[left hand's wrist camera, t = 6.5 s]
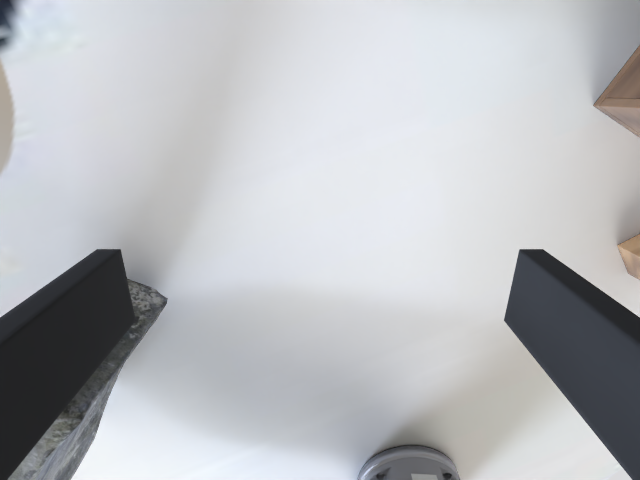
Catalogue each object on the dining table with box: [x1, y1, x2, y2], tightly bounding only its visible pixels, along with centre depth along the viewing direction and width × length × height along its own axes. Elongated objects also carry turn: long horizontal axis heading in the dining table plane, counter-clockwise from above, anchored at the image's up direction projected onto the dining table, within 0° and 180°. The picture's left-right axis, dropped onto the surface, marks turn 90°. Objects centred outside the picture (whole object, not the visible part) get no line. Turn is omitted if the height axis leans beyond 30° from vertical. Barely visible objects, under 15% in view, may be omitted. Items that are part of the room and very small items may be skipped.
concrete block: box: [8, 279, 168, 480], centre depth 38 cm, size 27×9×20 cm, turn 147°
